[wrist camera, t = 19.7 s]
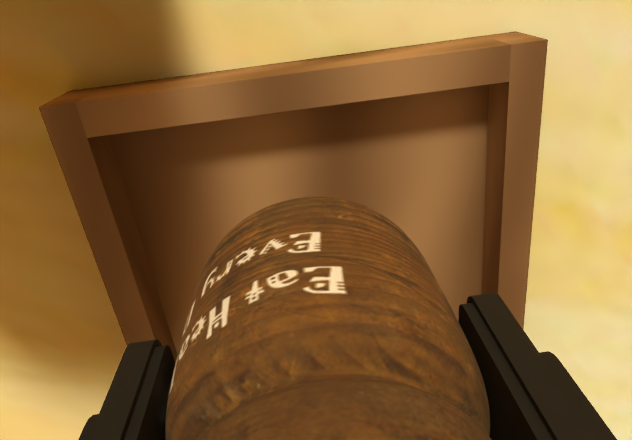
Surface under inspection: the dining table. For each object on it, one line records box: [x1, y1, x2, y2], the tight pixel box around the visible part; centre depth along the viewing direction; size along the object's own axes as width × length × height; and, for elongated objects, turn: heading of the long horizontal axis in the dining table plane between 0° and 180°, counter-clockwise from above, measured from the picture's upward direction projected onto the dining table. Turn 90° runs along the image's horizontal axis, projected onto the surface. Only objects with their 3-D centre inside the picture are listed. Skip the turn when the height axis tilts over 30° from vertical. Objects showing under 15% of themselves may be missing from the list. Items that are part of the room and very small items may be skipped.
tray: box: [39, 32, 548, 363], centre depth 19 cm, size 14×18×2 cm
